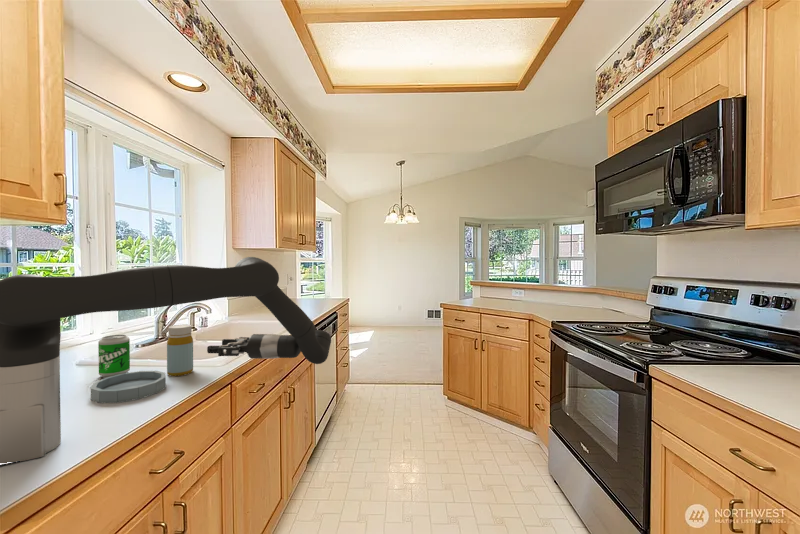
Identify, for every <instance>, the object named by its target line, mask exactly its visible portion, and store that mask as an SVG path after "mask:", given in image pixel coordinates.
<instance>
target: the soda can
mask: <svg viewBox="0 0 800 534" xmlns="http://www.w3.org/2000/svg"><path fill="white" fill-rule="evenodd" d="M97 345H98V347H97V348H98V349H97V350H98V353H97V354H98V375H99V376H100V377H102V379H104V378H107V377H111V376H115V375H119V374H123V373H129V372H130V370H131V366H130V365H131V363H130V362H131V361H130V360H131V359H130V358H131V349H130V348H131V346H130V345H131V342H130V337H128V336H127V335H126V334H112V335H105V336H103V337H101V339H100V340H98V343H97Z"/></svg>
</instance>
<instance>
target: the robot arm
mask: <svg viewBox="0 0 800 534" xmlns="http://www.w3.org/2000/svg"><path fill="white" fill-rule="evenodd" d="M279 282H280V277H279V272H278V270H277V269H276V267H274V265H272V264H271V263H270V262H268V261H265V260H264V259H262V258H259V257H255V256H246V257H243V258H242V259H239V261H237V263H236V264H235V265H234V266H229V267H206V266H198V265H197V266H196V265H188V264H187V265H185V264H167V265H166V264H163V265H149V266H140V267H132V268H125V269H120V270H119V269H118V270H114V271H109V272H103V273H99V274H93V275H92V274H91V275H82V276H80V275H78V276H42V275H38V274H32V273H29V274H28V273H25V274H24V273H23V274H16V275H12V276H11V275H10V276H8V277H5V278H2V279H0V463H7V462H16V461H20V462H24V461H28V460H34V459H39V458H41V457H42V458H43V457H44V456H45V454H47V453H48V452H50V451H53V450H54V449H56V448H57V447H58V446H60V444H61V442H62V438H61V437H62V433H61V431H62V430H61V429H62V428H61V427H62V426H61V424H62V423H61V421H62V419H61V351H60V349H61V335H62V333H61V331H62V330H61V319H65V318H68V317H69V318H70V317H75V316H79V315H86V314H87V315H88V314H92V313H102V312H104V313H106V312H119V311H120V312H121V311H122V312H123V311H136V310H144V309H145V310H146V309H147V310H148V309H154V308H155V309H157V308H164V307H170V306H178V305H183V304H190V303H192V304H193V303H197V302H204V301H209V300H217V299H223V298H241V297H244V298H245V297H247V298H249V297H255V298H256V299H257V300H259V302H261V304H263V306H265V307H266V309H268V311H270V313H271V314H272V315H273V316H274V317H275V319H277V321H278V322H279V323H280V324H281V325H282V326H283V328H284V329H285V331H287V332H288V333H289V334H273V333H253V334H251V335H250V336H249V337H245V336H244V337H243V336H240V337H238V338H237V337H235V338H224V339H222V341H221V345H209V346H207V348H206V350H207V351H206V353H208V354H217V355H218V357H238V356H240V355H242V354H243V355H244V354H245V353H246V354H247V356H248V357H249V358H250V359H259V360H260V359H267V360H270V359H272V360H273V359H293V358H297V357H299V355H300V354H302V355H303V357H304V358H305V359H306V360H307V361H308V362H310V363H311V364H313V365H321V364H323V363H325V362H326V360H327V359H328V357H329V354H330V349H331V343H332V336H331V334H330V333H329V332H327V331H325V330H320V329H316V325H315V323H314V321H312V319H311V318H310V317H309V316H308V315H307V314H306V312H305V311H304V310H303V309H302V308H301V307H299V305H298V304H296V303H295V302H294V300H292V299H291V298H290V297H289V296H288V295H287V294H286V293H285V292H284V291H283V290H282V289H281V288H280V287H279V286H278V284H279ZM16 463H17V462H16Z"/></svg>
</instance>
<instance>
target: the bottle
mask: <svg viewBox="0 0 800 534" xmlns="http://www.w3.org/2000/svg"><path fill="white" fill-rule="evenodd" d="M193 371H194V339H193V336H192V325H191V324H187V323H186V324H183V323H182V324H175V325H170V326H168V338H167V340H166V372H167V373H166V374H167V375H168V376H169V377H182V376H188V375H189V374H191V373H192V372H193Z"/></svg>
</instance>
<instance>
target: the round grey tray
mask: <svg viewBox="0 0 800 534" xmlns="http://www.w3.org/2000/svg"><path fill="white" fill-rule="evenodd" d="M166 374H167V373H166V372H163V371H159V370H139V371H138V370H137V371H129V372H127V373H123V374H119V375H115V376H111V377H107V378H102V379H100V380H98V381H97V380H96V381H95V382H93V383H92V385H91V387H90V400H91V401H93V402H96V403H99V404H110V403H111V404H113V403H114V404H115V403H116V404H117V403H124V402H129V401H135V400H139V399H143V398H146V397H149V396H153V395H155V394H158V393H159V392H161V391H162V390H164V389H166V386H167V385H166V384H167V383H166V382H167V380H166V378H167V377H166V376H167V375H166Z"/></svg>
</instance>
